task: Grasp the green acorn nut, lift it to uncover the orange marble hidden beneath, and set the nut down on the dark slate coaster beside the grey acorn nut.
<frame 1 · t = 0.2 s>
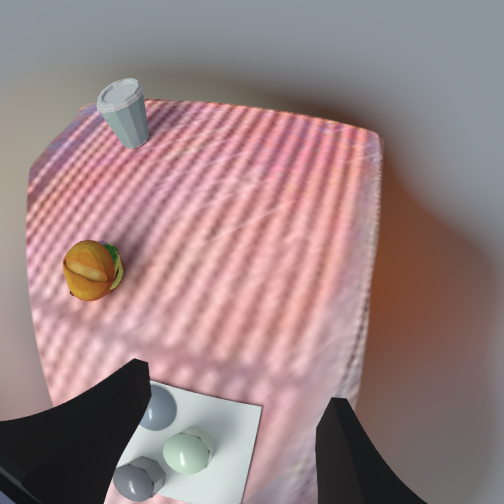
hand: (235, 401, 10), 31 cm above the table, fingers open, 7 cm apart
coaster: (152, 407, 35), resting on mat
grey acorn nut: (146, 473, 30), resting on mat
mat: (183, 448, 33), on the table
green acorn nut: (194, 446, 33), resting on mat
cheeseburger: (103, 277, 45), on the table
disposable coffee cup: (135, 141, 61), on the table
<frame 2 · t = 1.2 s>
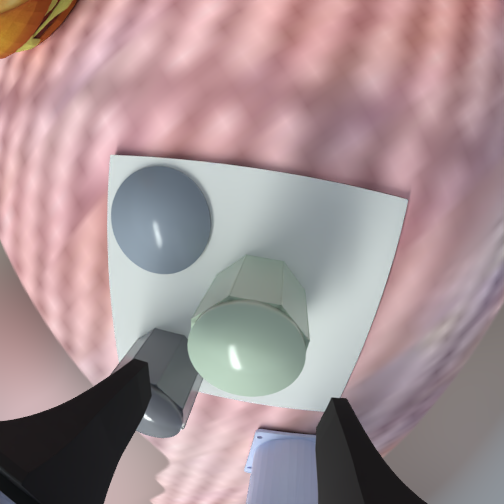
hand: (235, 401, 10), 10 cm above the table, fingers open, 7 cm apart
coaster: (158, 221, 18), resting on mat
grey acorn nut: (169, 359, 21), resting on mat
mat: (234, 303, 20), on the table
green acorn nut: (258, 298, 19), resting on mat
cheeseburger: (51, 12, 14), on the table
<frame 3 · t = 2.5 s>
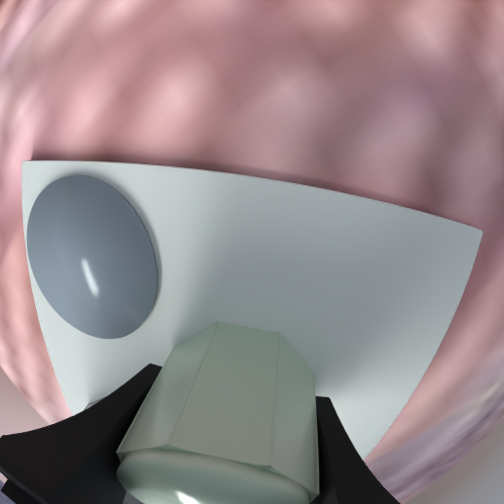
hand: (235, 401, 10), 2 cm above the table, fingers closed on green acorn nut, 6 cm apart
coaster: (83, 261, 10), resting on mat
mat: (206, 381, 12), on the table
green acorn nut: (240, 380, 11), resting on mat, touching gripper
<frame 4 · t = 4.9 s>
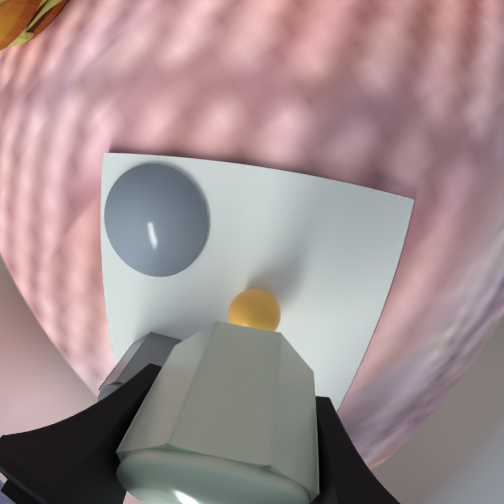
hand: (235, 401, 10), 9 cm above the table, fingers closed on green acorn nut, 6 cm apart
coaster: (152, 221, 17), resting on mat
marble: (254, 314, 16), point 2 cm above the table, touching mat
grey acorn nut: (166, 363, 21), resting on mat
mat: (232, 307, 19), on the table
green acorn nut: (239, 380, 11), point 7 cm above the table, touching gripper
cheeseburger: (45, 6, 12), on the table
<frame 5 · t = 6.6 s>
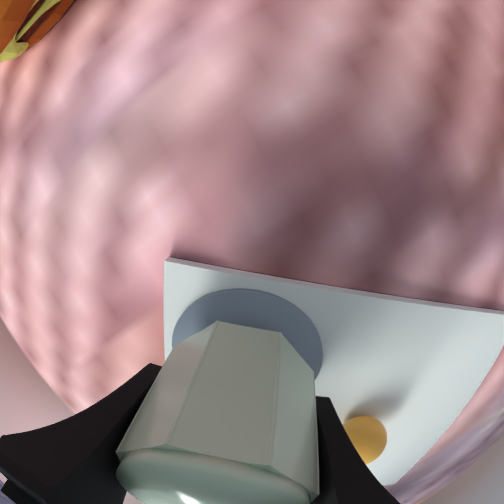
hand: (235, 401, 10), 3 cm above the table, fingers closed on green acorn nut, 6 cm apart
coaster: (245, 355, 13), resting on mat
marble: (360, 440, 12), point 2 cm above the table, touching mat
mat: (327, 423, 15), on the table
green acorn nut: (239, 380, 11), point 2 cm above the table, touching gripper
cheeseburger: (46, 2, 8), on the table
when the fingers open (3 cm above the table, at t = 7.7 s): green acorn nut drops 1 cm, resting on coaster.
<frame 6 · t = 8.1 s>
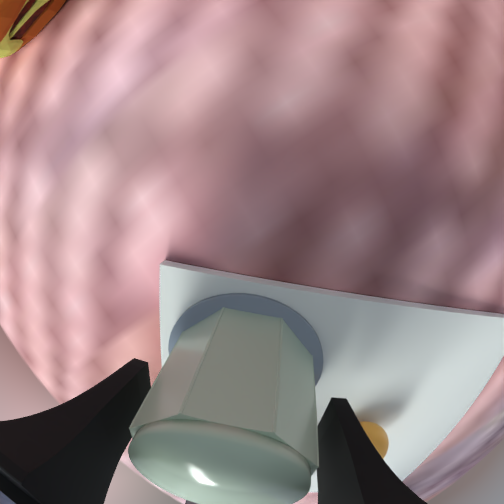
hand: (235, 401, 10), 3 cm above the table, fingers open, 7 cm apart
coaster: (244, 361, 12), resting on mat
marble: (361, 446, 12), point 2 cm above the table, touching mat
mat: (327, 429, 14), on the table
green acorn nut: (243, 365, 12), point 1 cm above the table, touching coaster
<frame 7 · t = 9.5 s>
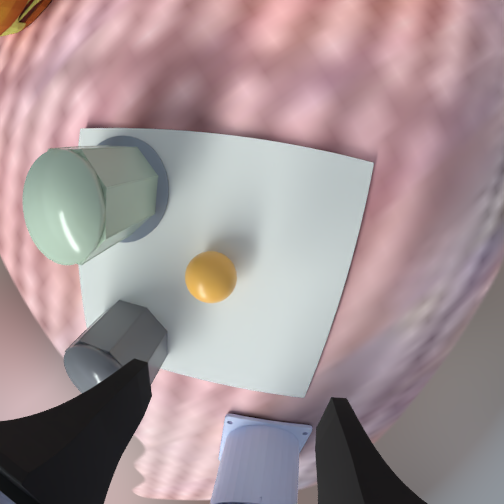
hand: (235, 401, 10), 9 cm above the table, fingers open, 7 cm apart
coaster: (120, 189, 17), resting on mat
marble: (210, 277, 17), point 2 cm above the table, touching mat
grey acorn nut: (134, 333, 21), resting on mat
mat: (194, 274, 19), on the table
green acorn nut: (118, 189, 17), point 1 cm above the table, touching coaster
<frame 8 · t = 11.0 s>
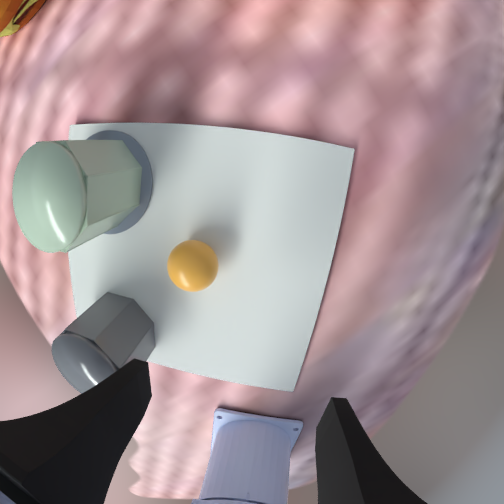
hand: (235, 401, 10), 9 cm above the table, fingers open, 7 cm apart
coaster: (107, 182, 17), resting on mat
marble: (192, 265, 17), point 2 cm above the table, touching mat
grey acorn nut: (123, 326, 21), resting on mat
mat: (179, 264, 19), on the table
green acorn nut: (105, 182, 17), point 1 cm above the table, touching coaster
cheeseburger: (31, 1, 13), on the table
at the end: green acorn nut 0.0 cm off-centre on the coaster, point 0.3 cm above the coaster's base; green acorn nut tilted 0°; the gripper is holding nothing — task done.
